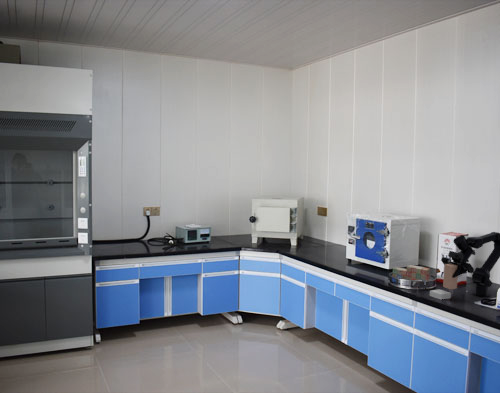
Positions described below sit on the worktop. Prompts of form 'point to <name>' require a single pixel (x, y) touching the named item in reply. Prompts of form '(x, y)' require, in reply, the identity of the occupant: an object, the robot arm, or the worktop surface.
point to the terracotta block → (450, 276)
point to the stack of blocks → (412, 273)
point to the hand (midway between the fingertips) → (448, 276)
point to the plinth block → (440, 294)
